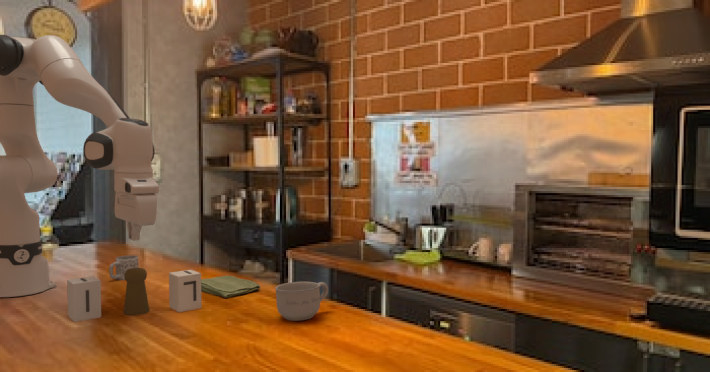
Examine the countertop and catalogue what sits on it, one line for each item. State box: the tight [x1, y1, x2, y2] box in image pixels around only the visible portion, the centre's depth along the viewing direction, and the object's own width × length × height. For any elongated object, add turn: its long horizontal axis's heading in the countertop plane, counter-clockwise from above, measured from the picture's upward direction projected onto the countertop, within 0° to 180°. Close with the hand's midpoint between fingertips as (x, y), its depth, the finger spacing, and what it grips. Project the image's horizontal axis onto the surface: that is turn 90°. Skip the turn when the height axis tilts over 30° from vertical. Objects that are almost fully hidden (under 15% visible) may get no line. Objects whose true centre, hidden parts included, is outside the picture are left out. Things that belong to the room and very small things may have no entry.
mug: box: [108, 254, 139, 281], centre depth 172 cm, size 10×7×7 cm
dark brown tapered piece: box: [123, 267, 150, 316], centre depth 136 cm, size 6×6×11 cm
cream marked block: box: [168, 269, 202, 313], centre depth 140 cm, size 6×6×9 cm
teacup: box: [274, 281, 329, 322], centre depth 132 cm, size 14×11×8 cm
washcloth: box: [201, 275, 261, 299], centre depth 159 cm, size 13×18×3 cm
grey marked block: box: [66, 275, 102, 323], centre depth 132 cm, size 6×6×9 cm
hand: (134, 239), depth 135 cm, fingers closed
